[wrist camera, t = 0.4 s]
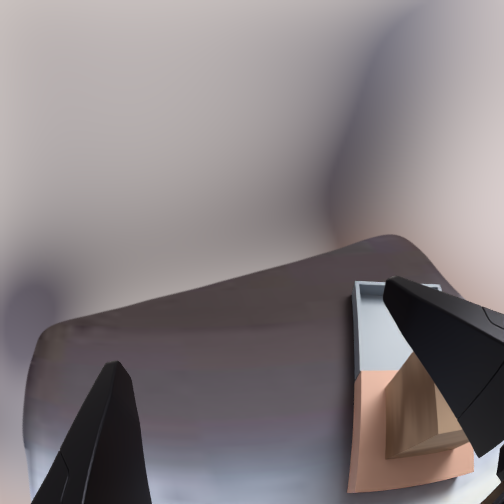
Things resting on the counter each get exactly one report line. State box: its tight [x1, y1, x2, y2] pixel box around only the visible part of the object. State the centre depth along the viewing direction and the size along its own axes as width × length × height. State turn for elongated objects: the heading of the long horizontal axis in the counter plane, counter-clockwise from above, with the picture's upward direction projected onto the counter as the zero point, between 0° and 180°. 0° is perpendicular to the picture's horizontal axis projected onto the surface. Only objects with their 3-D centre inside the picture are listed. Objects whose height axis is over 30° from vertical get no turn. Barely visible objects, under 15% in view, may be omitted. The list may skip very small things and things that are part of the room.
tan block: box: [385, 352, 469, 459], centre depth 13 cm, size 6×6×8 cm
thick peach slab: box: [347, 370, 474, 493], centre depth 16 cm, size 10×10×2 cm
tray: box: [352, 281, 442, 380], centre depth 24 cm, size 10×10×2 cm
